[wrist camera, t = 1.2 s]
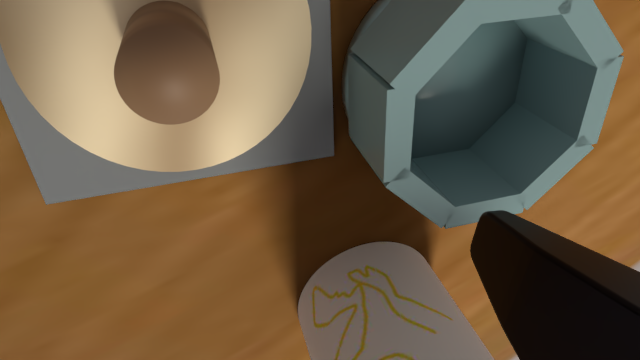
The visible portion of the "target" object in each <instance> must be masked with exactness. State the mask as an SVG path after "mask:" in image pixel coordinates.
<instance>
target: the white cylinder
mask: <svg viewBox="0 0 640 360" xmlns="http://www.w3.org/2000/svg"><path fill="white" fill-rule="evenodd" d="M298 317H299V321H300V325H301V328H302V331H303V335H304V338H305V341H306V345H307V348H308V351H309V355H310V358H311V360H494V358H493V357H492V356H491V354H490V353H489V351H488V350H487V348H486V347H485V345H484V344H483V342H482V341H481V340H480V338H479V337H478V335H477V334H476V332H475V331H474V329H473V328H472V326H471V325H470V324H469V322H468V321H467V319H466V318H465V316H464V315H463V313H462V312H461V310H460V309H459V308H458V306H457V305H456V303H455V302H454V300H453V299H452V297H451V296H450V295H449V293H448V292H447V290H446V289H445V287H444V286H443V284H442V283H441V281H440V280H439V279H438V277H437V276H436V274H435V273H434V271H433V270H432V268H431V267H430V265H429V264H428V263H427V261H426V260H425V258H424V257H423V256H422V255H421V254H420V253H419V252H418V251H417V250H415V249H413V248H412V247H409V246H407V245H404V244H401V243H396V242H373V243H367V244H363V245H360V246H356V247H354V248H351V249H349V250H346V251H344V252H342V253H340V254H338V255H337V256H335V257H333V258H332V259H330V260H329V261H328V262H326V263H325V264H324V265H323V266H321V267H320V268H319V269H318V270H317V271H316V272H315V273H314V274H313V275H312V277H311V278H310V279H309V281H308V282H307V283H306V285H305V287H304V289H303V291H302V293H301V296H300V299H299V303H298Z"/></svg>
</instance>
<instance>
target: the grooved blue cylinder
mask: <svg viewBox="0 0 640 360" xmlns="http://www.w3.org/2000/svg"><path fill="white" fill-rule="evenodd" d="M622 52H623V49H622V48H621V46H620V44H619V43H618V41H617V39H616V38H615V36H614V34H613V33H612V31H611V29H610V28H609V26H608V24H607V23H606V21H605V20H604V18H603V16H602V15H601V13H600V11H599V10H598V8H597V6H596V5H595V3H594V1H593V0H378V1H377V2H376V3H375V4H374V5H373V6H372V7H371V9H370V10H369V11H368V13H367V14H366V15H365V17H364V18H363V19H362V21H361V23H360V24H359V26H358V28H357V30H356V31H355V33H354V35H353V38H352V40H351V42H350V44H349V47H348V50H347V53H346V57H345V60H344V65H343V71H342V81H341V92H342V102H343V106H344V111H345V114H346V117H347V119H348V122H349V136H350V137H351V140H352V141H353V143H354V144H355V146H356V147H357V148H358V150H359V151H360V153H361V154H362V155H363V157H364V158H365V159H366V161H367V162H368V164H369V165H370V166H371V168H372V169H373V171H374V172H375V173H376V175H377V176H378V177H379V179H380V180H381V182H382V183H383V184H384V186H385V187H386V188H387V189H389V190H390V191H391V192H393V193H394V194H396V195H397V196H398V197H400V198H401V199H402V200H404V201H405V202H406V203H408V204H409V205H411V206H412V207H413V208H415V209H416V210H417V211H419V212H420V213H421V214H423V215H424V216H426V217H427V218H428V219H430V220H431V221H432V222H434V223H435V224H437V225H438V226H439V227H441V228H442V227H443V226H444V227H445V228H446V229H447V228H451V227H456V226H461V225H466V224H470V223H475V222H478V221H479V218H480V216H481V215H482V214H483V213H484V212H486V211H497V210H504V211H508V212H510V213H512V214H517V213H522V212H523V208H525V209H526V210H528V209H529V208H530V207H531V206H532V205H533V204H534V203H535V202H536V201H537V200H538V199H539V198H540V197H542V196H543V195H544V194H545V193H546V192H547V191H548V190H549V189H550V188H551V187H552V186H553V185H554V184H556V183H557V182H558V181H559V180H560V179H561V178H562V177H563V176H564V175H565V174H566V173H567V172H568V171H570V170H571V169H572V168H573V167H574V166H575V165H576V164H577V163H578V162H579V161H580V160H581V159H582V158H584V157H585V156H586V155H587V154H588V153H589V152H590V151H591V150H592V149H593V147H592V145H591V144H596V143H597V141H598V138H599V135H600V131H601V128H602V125H603V122H604V118H605V115H606V112H607V109H608V106H609V102H610V99H611V96H612V93H613V90H614V86H615V83H616V80H617V77H618V73H619V70H620V67H621V64H622V61H623V57H624V56H622V55H620V54H621V53H622Z"/></svg>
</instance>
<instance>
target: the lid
mask: <svg viewBox="0 0 640 360" xmlns="http://www.w3.org/2000/svg"><path fill="white" fill-rule="evenodd" d="M311 28H312V27H311V19H310V10H309V5H308V1H307V0H0V44H1V47H2V50H3V53H4V56H5V58H6V61H7V64H8V66H9V68H10V70H11V72H12V74H13V76H14V78H15V80H16V82H17V84H18V85H19V87H20V88H21V90H22V91H23V93H24V94H25V96H26V97H27V99H28V100H29V102H30V103H31V104H32V105H33V106H34V107H35V109H36V110H37V111H38V112H39V113H40V115H41V116H42V117H43V118H44V119H45V120H47V121H48V122H49V123H50V124H51V125H52V126H53V127H54V128H55V129H56V130H57V131H59V132H60V133H61V134H63V135H64V136H65V137H67V138H68V139H69V140H71V141H72V142H73V143H75V144H77V145H79V146H80V147H82V148H84V149H85V150H87V151H89V152H91V153H93V154H95V155H97V156H99V157H102V158H104V159H106V160H109V161H112V162H115V163H118V164H121V165H124V166H127V167H132V168H137V169H141V170H149V171H158V172H181V171H190V170H197V169H202V168H206V167H211V166H214V165H217V164H220V163H223V162H226V161H228V160H230V159H233V158H235V157H237V156H239V155H241V154H243V153H244V152H246V151H248V150H249V149H251V148H252V147H254V146H255V145H257V144H258V143H259V142H261V141H262V140H263V139H264V138H265V137H267V136H268V135H269V134H270V133H271V132H272V131H273V130H274V129H275V128H276V127H277V126H278V125H279V124H280V122H281V121H282V120H283V118H284V117H285V116H286V114H287V113H288V112H289V110H290V109H291V107H292V105H293V103H294V102H295V100H296V98H297V96H298V94H299V92H300V89H301V87H302V85H303V82H304V80H305V76H306V72H307V68H308V65H309V59H310V52H311Z"/></svg>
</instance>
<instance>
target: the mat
mask: <svg viewBox="0 0 640 360" xmlns="http://www.w3.org/2000/svg"><path fill="white" fill-rule="evenodd" d="M307 1H308V5H309V10H310V19H311V27H312V28H311V52H310V59H309V65H308V68H307V72H306V76H305V80H304V82H303V85H302V87H301V89H300V92H299V94H298V96H297V98H296V100H295V102H294V103H293V105H292V107H291V109H290V110H289V112H288V113H287V114H286V116H285V117H284V118H283V120H282V121H281V122H280V124H279V125H278V126H277V127H276V128H275V129H274V130H273V131H272V132H271V133H270V134H269V135H268V136H267V137H265V138H264V139H263V140H262V141H261V142H259V143H258V144H257V145H255V146H254V147H252V148H251V149H249V150H248V151H246V152H244V153H243V154H241V155H239V156H237V157H235V158H233V159H230V160H228V161H226V162H223V163H220V164H217V165H214V166H211V167H206V168H202V169H197V170H190V171H181V172H158V171H149V170H141V169H137V168H132V167H127V166H124V165H121V164H118V163H115V162H112V161H109V160H106V159H104V158H102V157H99V156H97V155H95V154H93V153H91V152H89V151H87V150H85V149H84V148H82V147H80V146H79V145H77V144H75V143H73V142H72V141H71V140H69V139H68V138H67V137H65V136H64V135H63V134H61V133H60V132H59V131H57V130H56V129H55V128H54V127H53V126H52V125H51V124H50V123H49V122H48V121H47V120H45V119H44V118H43V117H42V116H41V115H40V113H39V112H38V111H37V110H36V109H35V107H34V106H33V105H32V104H31V103H30V102H29V100H28V99H27V97H26V96H25V94H24V93H23V91H22V90H21V88H20V87H19V85H18V84H17V82H16V80H15V78H14V76H13V74H12V72H11V70H10V68H9V66H8V64H7V61H6V58H5V56H4V53H3V50H2V47H1V44H0V99H1V101H2V104H3V106H4V108H5V111H6V113H7V115H8V118H9V120H10V122H11V124H12V127H13V129H14V131H15V134H16V136H17V138H18V141H19V143H20V145H21V148H22V150H23V152H24V154H25V157H26V159H27V161H28V164H29V166H30V168H31V171H32V173H33V175H34V178H35V180H36V182H37V185H38V187H39V189H40V191H41V194H42V196H43V198H44V201H45V203H46V205H47V204H53V203H58V202H64V201H70V200H76V199H82V198H88V197H94V196H100V195H106V194H112V193H117V192H123V191H129V190H135V189H141V188H147V187H153V186H159V185H165V184H171V183H177V182H182V181H188V180H194V179H200V178H206V177H212V176H218V175H224V174H230V173H236V172H241V171H247V170H253V169H259V168H265V167H271V166H277V165H283V164H289V163H295V162H301V161H306V160H312V159H318V158H324V157H330V156H334V128H333V91H332V55H331V19H330V0H307Z"/></svg>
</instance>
